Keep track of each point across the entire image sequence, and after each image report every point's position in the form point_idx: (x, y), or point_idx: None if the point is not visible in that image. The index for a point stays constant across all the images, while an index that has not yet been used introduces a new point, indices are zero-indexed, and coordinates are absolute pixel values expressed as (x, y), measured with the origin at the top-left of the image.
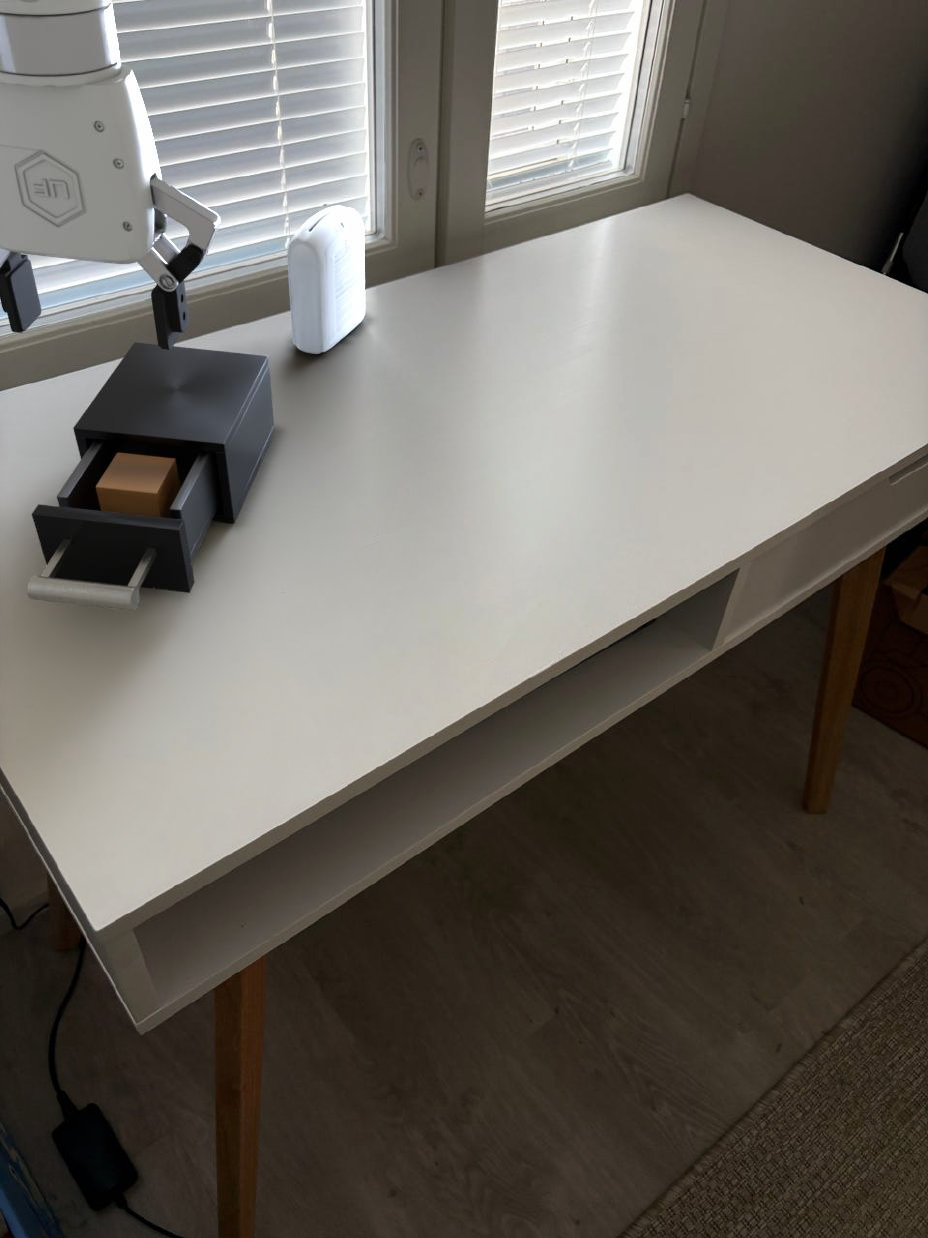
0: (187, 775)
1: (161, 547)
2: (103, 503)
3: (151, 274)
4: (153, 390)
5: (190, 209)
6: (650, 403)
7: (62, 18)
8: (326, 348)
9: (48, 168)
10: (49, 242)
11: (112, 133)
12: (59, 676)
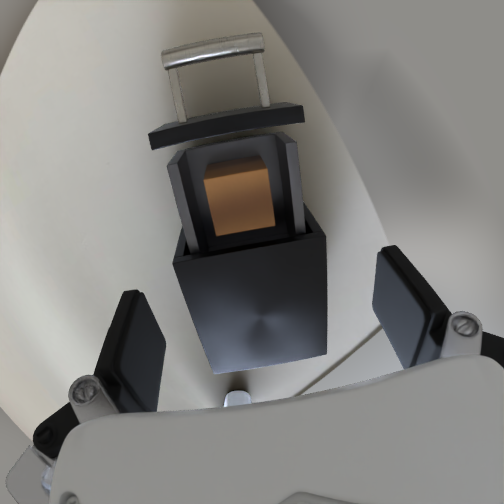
0: None
1: (173, 125)
2: (260, 164)
3: (105, 401)
4: (280, 310)
5: None
6: (50, 388)
7: None
8: (226, 395)
9: None
10: (333, 428)
11: None
12: (223, 18)
